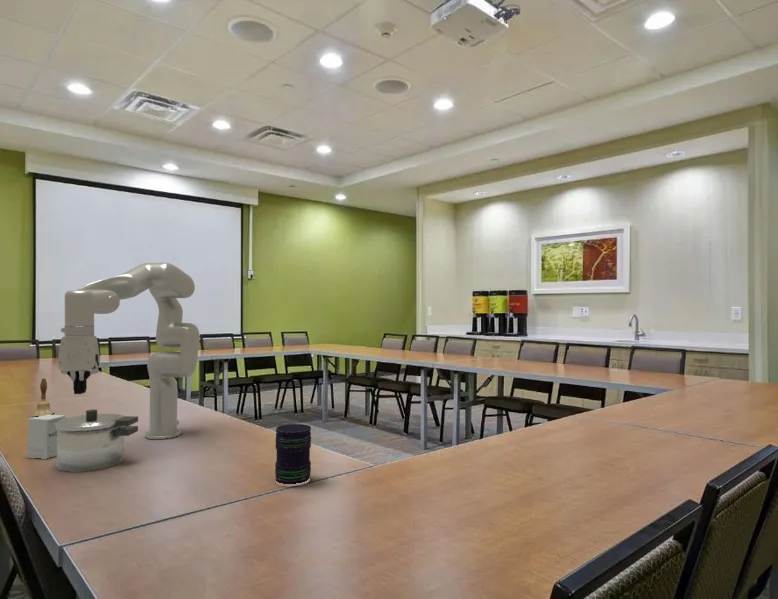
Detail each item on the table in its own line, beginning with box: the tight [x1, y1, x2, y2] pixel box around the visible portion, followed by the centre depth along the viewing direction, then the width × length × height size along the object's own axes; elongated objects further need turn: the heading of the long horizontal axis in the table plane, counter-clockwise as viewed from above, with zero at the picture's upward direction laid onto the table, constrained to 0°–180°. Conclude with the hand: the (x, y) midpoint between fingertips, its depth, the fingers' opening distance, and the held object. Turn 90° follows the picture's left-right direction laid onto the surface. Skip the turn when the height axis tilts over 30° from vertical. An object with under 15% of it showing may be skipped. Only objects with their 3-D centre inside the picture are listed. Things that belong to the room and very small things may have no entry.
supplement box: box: [27, 414, 66, 460], centre depth 168 cm, size 7×7×13 cm
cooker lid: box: [55, 409, 139, 431], centre depth 161 cm, size 19×22×4 cm
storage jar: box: [274, 423, 312, 484], centre depth 145 cm, size 10×10×15 cm
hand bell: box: [32, 378, 55, 417], centre depth 229 cm, size 8×8×16 cm
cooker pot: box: [55, 425, 139, 473], centre depth 161 cm, size 19×22×12 cm
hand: (80, 393), depth 154 cm, fingers closed
